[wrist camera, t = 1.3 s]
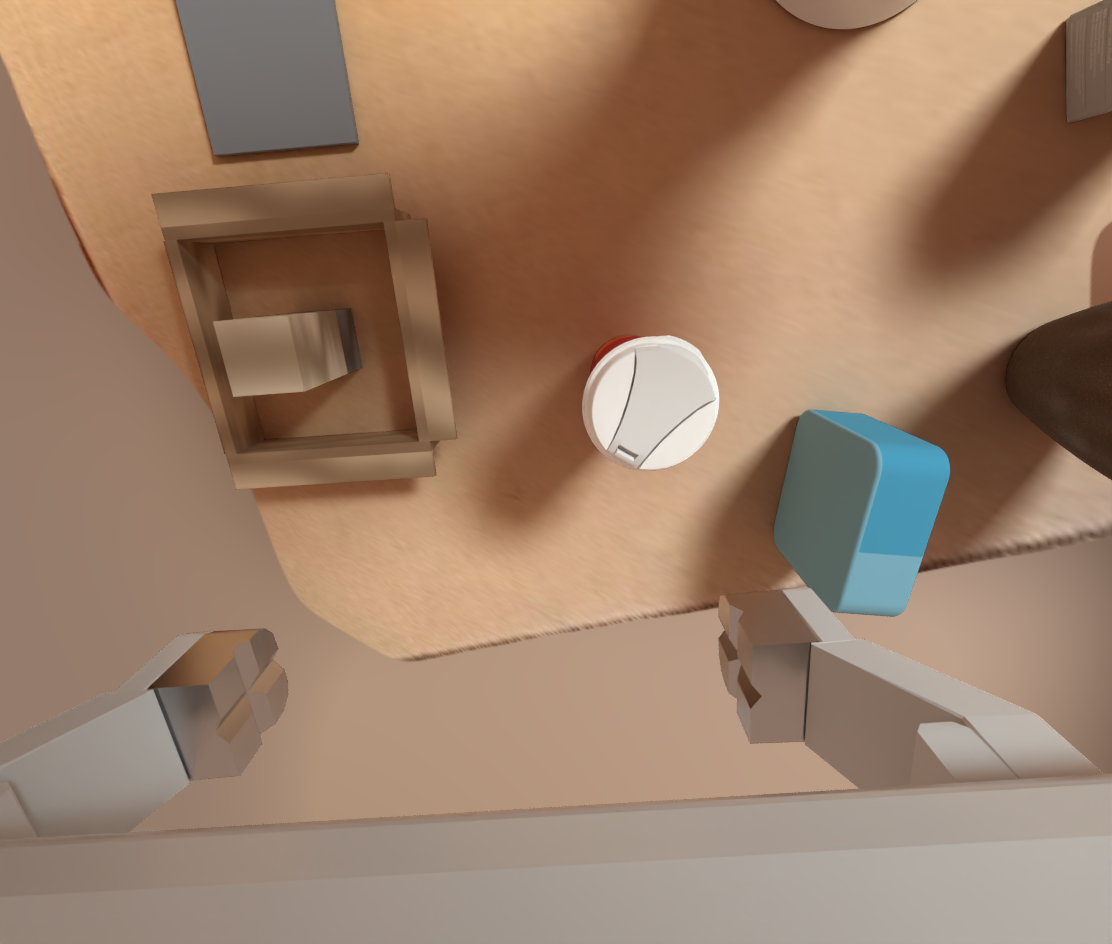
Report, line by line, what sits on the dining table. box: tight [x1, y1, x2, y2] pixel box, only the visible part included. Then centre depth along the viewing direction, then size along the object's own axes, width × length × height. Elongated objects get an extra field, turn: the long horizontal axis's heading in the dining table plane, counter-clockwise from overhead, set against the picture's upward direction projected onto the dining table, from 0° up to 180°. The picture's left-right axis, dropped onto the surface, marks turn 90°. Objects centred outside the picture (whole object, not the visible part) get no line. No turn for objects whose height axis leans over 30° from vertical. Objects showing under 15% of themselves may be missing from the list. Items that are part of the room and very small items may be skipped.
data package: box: [773, 410, 950, 617], centre depth 40 cm, size 12×4×12 cm, turn 176°
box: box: [213, 308, 362, 397], centre depth 37 cm, size 4×4×10 cm
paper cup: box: [582, 335, 719, 471], centre depth 36 cm, size 8×8×14 cm
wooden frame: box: [152, 173, 457, 489], centre depth 40 cm, size 21×18×4 cm
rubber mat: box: [175, 0, 359, 157], centre depth 35 cm, size 14×10×1 cm
